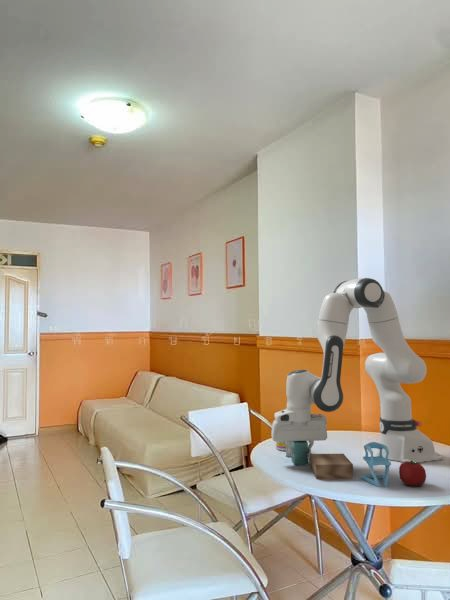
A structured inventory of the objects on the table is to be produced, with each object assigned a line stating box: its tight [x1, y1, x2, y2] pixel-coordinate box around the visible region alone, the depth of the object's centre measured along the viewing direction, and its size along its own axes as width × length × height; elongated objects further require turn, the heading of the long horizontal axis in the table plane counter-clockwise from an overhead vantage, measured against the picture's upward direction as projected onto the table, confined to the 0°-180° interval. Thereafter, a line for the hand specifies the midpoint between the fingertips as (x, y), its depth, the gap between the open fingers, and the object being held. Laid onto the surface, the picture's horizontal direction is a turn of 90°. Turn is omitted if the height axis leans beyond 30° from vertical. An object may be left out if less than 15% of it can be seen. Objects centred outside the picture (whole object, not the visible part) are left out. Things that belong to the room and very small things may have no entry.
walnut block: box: [308, 453, 354, 480], centre depth 146 cm, size 12×12×5 cm
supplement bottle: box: [275, 441, 286, 452], centre depth 175 cm, size 7×7×13 cm
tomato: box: [398, 461, 427, 487], centre depth 134 cm, size 8×8×7 cm
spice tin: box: [291, 441, 309, 467], centre depth 156 cm, size 5×5×8 cm
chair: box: [360, 441, 392, 488], centre depth 137 cm, size 8×8×12 cm
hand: (299, 453), depth 156 cm, fingers closed on spice tin, 5 cm apart
